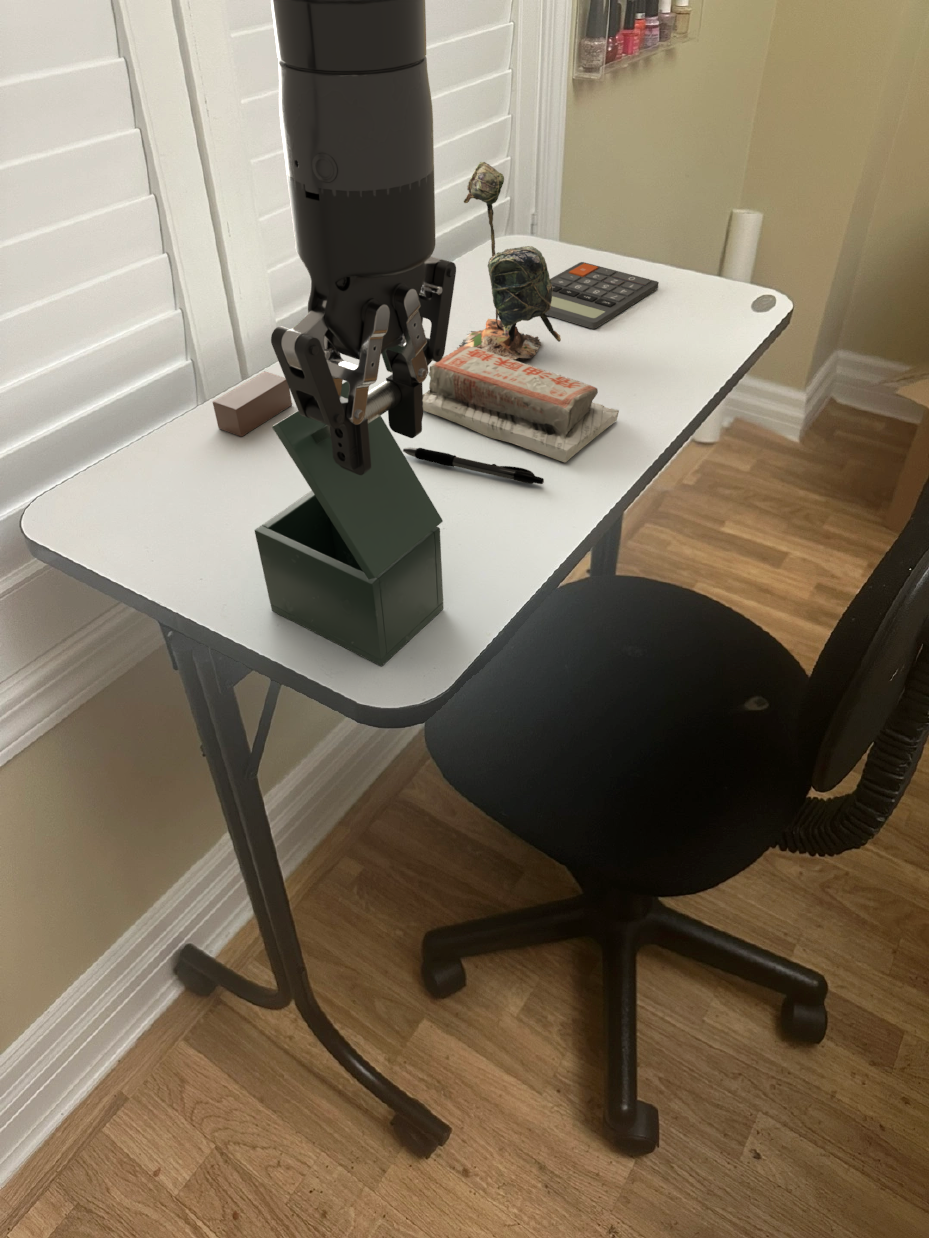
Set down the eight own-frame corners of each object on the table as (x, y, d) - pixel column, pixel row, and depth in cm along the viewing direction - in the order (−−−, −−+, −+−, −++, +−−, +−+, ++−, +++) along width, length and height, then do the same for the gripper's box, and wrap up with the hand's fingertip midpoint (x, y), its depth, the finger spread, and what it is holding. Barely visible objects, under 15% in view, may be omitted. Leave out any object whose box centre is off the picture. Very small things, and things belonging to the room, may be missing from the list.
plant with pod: (534, 378, 97) (542, 179, 83) (447, 354, 102) (440, 161, 88) (570, 349, 102) (583, 157, 88) (485, 327, 107) (485, 141, 93)
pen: (547, 480, 82) (547, 469, 81) (540, 490, 81) (541, 479, 80) (409, 449, 86) (408, 439, 86) (401, 458, 85) (400, 447, 84)
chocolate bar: (218, 428, 90) (212, 401, 88) (269, 397, 95) (264, 370, 93) (241, 437, 89) (235, 410, 87) (292, 405, 94) (288, 378, 92)
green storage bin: (271, 610, 70) (254, 529, 64) (336, 559, 74) (325, 480, 69) (381, 666, 65) (372, 584, 60) (444, 608, 69) (440, 527, 64)
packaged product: (412, 367, 89) (472, 331, 95) (415, 411, 92) (473, 374, 98) (569, 420, 81) (624, 377, 86) (566, 466, 84) (619, 422, 90)
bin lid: (271, 426, 56) (316, 399, 52) (350, 378, 61) (398, 350, 57) (368, 580, 60) (418, 565, 56) (436, 523, 64) (487, 506, 60)
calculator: (660, 280, 113) (594, 321, 105) (659, 288, 114) (594, 329, 105) (581, 260, 119) (513, 297, 110) (581, 267, 119) (513, 305, 111)
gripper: (389, 118, 52) (402, 389, 63) (203, 184, 43) (257, 483, 55) (499, 140, 49) (491, 420, 60) (322, 215, 40) (353, 526, 52)
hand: (380, 449), depth 57 cm, fingers closed on bin lid, 4 cm apart
